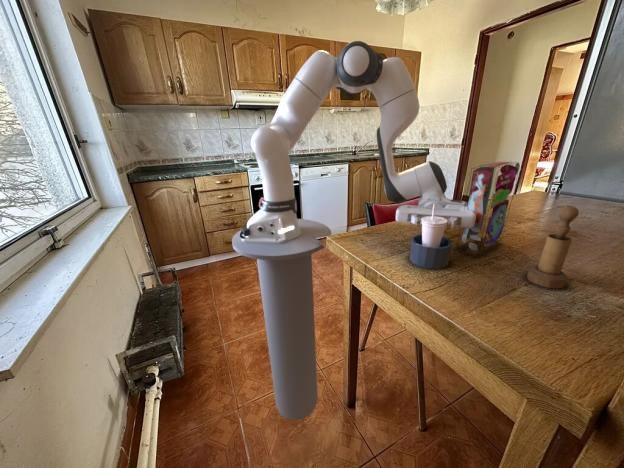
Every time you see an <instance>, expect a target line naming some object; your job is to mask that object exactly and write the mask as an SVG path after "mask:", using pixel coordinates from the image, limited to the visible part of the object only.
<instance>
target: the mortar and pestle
mask: <svg viewBox="0 0 624 468" xmlns="http://www.w3.org/2000/svg"><path fill="white" fill-rule="evenodd" d="M579 213H580V212H579V209H578V208H577V207H576V206H571V205H565V206H563V207H561V208H560V209H559V210H558V212H557V216H558V219H559V220H560V222H559V224H557V225H556V226H555V233H550V234H547V236H546V240H545V244H544V246H543V250H542V253H541V256H540V258H539V263H538V265H537V264H536V265H534V266H532V267H530V268H529V269H528V272H527V276H526V278H527V280H528V281H529V282H531V283H533V284H534V285H536V286H540V287H543V288H546V289H547V288H548V289H554V290H556V289H557V290H558V289H562V288H564V287H565V285H566V281H567V279H568V277H567V275H566V274H565V273H564V272H563V271H562V269H563V266H564V264H565V260H566V257H567V255H568V252H569V249H570V247H571V244H572V241H573V238H571V237H570V236H567V235H568V234H569V232H570V231H571V226H570V224H571V222H572V221H574V220H575V219H576V218H578V216H579Z"/></svg>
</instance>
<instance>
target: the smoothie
mask: <svg viewBox="0 0 624 468" xmlns="http://www.w3.org/2000/svg"><path fill="white" fill-rule="evenodd" d="M435 207H436V204H433V211H432V216H426V217H423V218H421V223H422V224H421V234H422V245H423V246H427V247H435V248H437V247H439V246H440V242H441V239H442V237H444V233H445V230H446V226H447V222H448V221H447V220H446V219H445V218H442V217H437V216H434V214H435Z"/></svg>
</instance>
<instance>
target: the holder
mask: <svg viewBox="0 0 624 468" xmlns="http://www.w3.org/2000/svg"><path fill="white" fill-rule="evenodd" d="M452 247H453V244H452V241H451V240H450V239H448V238H447V237H445V236H442V239H441V242H440V246H439V247H437V248H435V247H427V246H423V245H422V233H420V234H415V235H414V236H412V237H411V243H410V250H409V261H410V262H411V263H412V264H413V265H415V266H417V267H419V268H423V269H428V270H440V269H445V268H446V267H448V266H449V262H450V258H451V252H452Z"/></svg>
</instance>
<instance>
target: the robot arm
mask: <svg viewBox="0 0 624 468" xmlns="http://www.w3.org/2000/svg"><path fill="white" fill-rule="evenodd" d="M334 89H336V90H339V91H341V92H344V93H346V94H348V95H360V94H361V93H363V92H365V91H366V90H367V91H370V92H371V93H372V95H373V96H374V98H375V100H376V104H377V106H378V108H379V112H380V124H379V126H378V128H377V129H376V145H377V149H378V156H379V161H380V165H381V166H380V167H381V171H382V177H383V189H384V194H385V196H386V198H387V200H388V201H389V202H391V203H394V204H397V205H400V204H402V203H405V202H407V201H409V200H411V199H414V198H415V199H416V198H418V197H419V198H418V201H417V205H414V204H402V205H400V206H398V207H397V208H396V210H395V222H397V223H405V224H413V225H414V227H421V226H422V223H421V218H423V217H426V216H432V211H433V204H436V207H435V214H434V216H437V217H442V218H445V219H446V220H447V221H448V222H447V226H445V230H454V228H460V227H461V229H463V228H473V227H474V225H475V220H476V214H475V213H474V211H472V210H467V206H468V202H467V201H466V202H465V201H463V200H456V199H451V198H448V197H447V196H446V192H447V188H448V185H447V179H446V178H445V174H444V172H443V170H442V168H441V166H440V165H439V164H437V163H436V162H434V161H431V160H429V161H426V162H423V163H421V164H418V165H415V166H413V167H410V168H408V169H405V170H403V171H400V172H397V171H396V167H395V161H394V155H393V145H394V143H395V141H396V140H397V139H398V138H399V137H400V136H401V135H402V134H403V133H404V132H405V131H406V130H407V129H408V128H409V127H410V126H411V125H412V124H413V123H414V122H415V121H416V118H417V117H418V115H419V112H420V106H421V105H420V101H419V95H418V93H417V90H416V86H415V83H414V80H413V78H412V76H411V74H410V71H409V69H408V68H407V65H406V64H405V62H404V61H403V60H402V58H400V57H397V56H391V57H387V58H385V59H383V56H382V55H381V54H380V53H378V52H377V51H376V50H374V48H372V47H371V46H370V45H369V44H368V43H367V42H364V41H361V40H353V41H351V42H349V43H347V44H346V45H345V46H344V47H342V49H341V51H340V52H339V54H338V56H337V57H336V56H333V55H332V54H331V53H329V52H327V51H325V50H316V51H314V52H313V53H312V55H311V56H310V57H309V58H308V59H306V61H305V62H304V63H303V65H302V66H301V67H300V68H299V70H298V72H297V73H296V75H295V76H294V78H293V79H292V80H291V83H290V84H289V86H288V87H287V89H286V90H285V92H284V94H283V95H282V97H281V99H280V100H279V104H278V107H277V110H276V111H275V113H274V115H273V117H272V119H271V122H270V123H267V124H263V125H261V126H259V127H258V128H257V129H256V130H255V131H254V132H253V133H252V136H251V139H250V145H251V148H252V151H253V153H254V155H255V158H256V159H255V160H256V162H257V166H258V169H259V173H260V176H261V183H262V192H263V197H260V199H259V201H258V207H259V210H258V211H256V212H255V213H254V214H253V215H252V216H251V217H250V218H249V219H248V221H247V224H246V226H242V227H240V230H241V232H240V237H241V240H242V241H243V242H250V243H272V244H282V243H284V242H286V241H288V240H291V239H294V238H297V237H298V236H300V234H301V231H300V228H299V225H298V221H297V219H298V216H297V210H298V207H297V206H298V205H297V197H296V196H295V183H294V174H293V171H292V166H291V161H290V153H291V152H292V151H293V149H294V148H295V146H296V144H297V143H298V141H300V138H301V136H302V135H303V133H304V131H305V130H306V128H307V127H308V124H309V123H310V122H311V120H312V119H313V117H314V116H315V114H316V113H317V112H318V110H319V108H320V107H321V106H322V105H323V102H324V101H325V100H326V98H327V97H328V95H329V94H330V93H331V92H332V91H333V90H334ZM464 205H465V208H464Z"/></svg>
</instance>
